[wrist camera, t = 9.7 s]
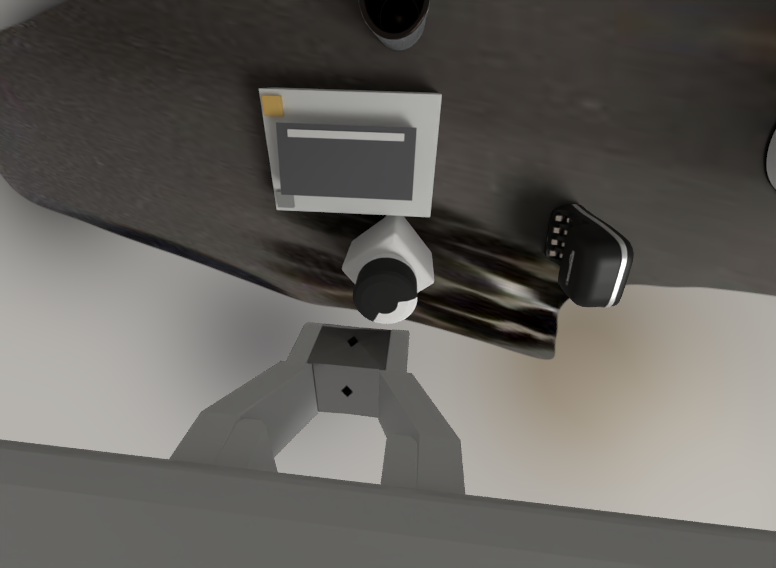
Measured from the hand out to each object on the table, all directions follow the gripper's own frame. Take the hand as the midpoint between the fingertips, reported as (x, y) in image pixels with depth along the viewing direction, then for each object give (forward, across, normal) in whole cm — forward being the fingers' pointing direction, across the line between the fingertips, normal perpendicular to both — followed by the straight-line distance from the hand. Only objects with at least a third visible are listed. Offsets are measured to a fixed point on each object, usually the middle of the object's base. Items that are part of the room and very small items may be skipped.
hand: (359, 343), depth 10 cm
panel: (+30, +5, 0) cm, 30 cm away
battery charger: (+31, -18, +8) cm, 36 cm away
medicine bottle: (+30, +1, +11) cm, 32 cm away
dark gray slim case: (+24, +5, 0) cm, 24 cm away
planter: (+30, +1, -11) cm, 32 cm away
